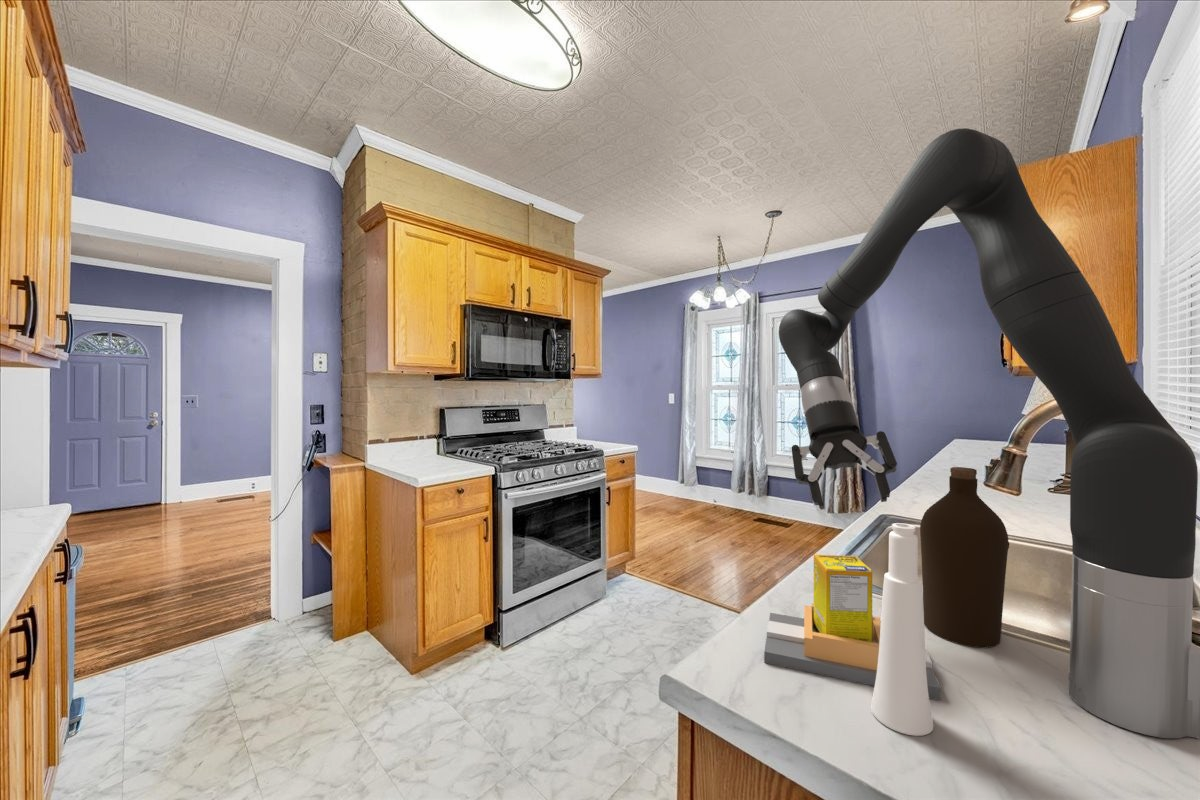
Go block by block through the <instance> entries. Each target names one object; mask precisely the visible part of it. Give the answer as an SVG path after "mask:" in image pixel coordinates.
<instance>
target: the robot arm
mask: <svg viewBox="0 0 1200 800" xmlns="http://www.w3.org/2000/svg"><path fill="white" fill-rule="evenodd" d="M1031 199H1032V198H1031V196H1030V194H1029V193H1028V190H1027V188H1026V186H1025V183H1024V180H1023V179H1022V176H1021V174H1020V171H1019V168H1018V167H1017V165H1016V161H1015V159H1014V156H1013V155H1012V153H1011V151H1010V150H1009V148H1008V147H1007V146H1006V144H1005V143H1004V142H1002V141H1001V140H999V139H998V138H996V137H993V136H991V135H989V134H986V133H983V132H982V131H978V130H976V129H972V128H963V127H962V128H956V129H952V130H949V131H946V132H945V133H942V134H941V135H939V136H938V137H936V138H935V139H933V140H932V141H931V142H930V143H929V144H928V145H927V146H926V147H925V148H924V149H923V151H922V152H921V153H920V155H919V156H918V157H917V159H916V160H915V161H914V162H913V164H912V166H911V167H910V169H909V170H908V172H907V173H906V174H905V176H904V178H903V179H902V180H901V183H900V184H899V186H898V187H897V189H896V190H895V191H894V193H893V195H892V196H891V198H890V199H889V200H888V202H887V204H886V206H885V207H884V208H883V210H882V211H881V212H880V214H879V216H878V217H877V218H876V220H875V222H874V223H873V224H872V225H871V227H870V229H869V230H868V232H867V233H866V234H865V236H864V237H863V238H862V240H861V241H860V242H859V244H858V245H857V246H856V247H855V249H854V250H852V252H851V254H850V255H849V256H847V258H846V259H845V261H843V263H842V264H841V265H840V266H839V267H838V268H837V269H836V271H835V272H834V273H833V274H832V275H831V276H830V277H829V279H828V280H827V281H826V282H825V283H824V284H823V286H821V288H820V289H819V291H818V293H817V300H818V302H819V304H820V306H821V307H822V308H823V309H824V310H825V312H824V313H822V314H819V313H815V312H811V311H808V310H805V309H801V308H798V309H793V310H790V311H788V312H787V313H785V314H784V316H782V318H781V320H780V323H779V326H778V338H779V343H780V345H781V347H782V349H783V351H784V353H785V355H786V357H787V358H788V360H789V362H790V365H791V366H792V367H793V368H794V370H795V372H796V375H797V376H796V377H797V380H798V381H797V382H798V384H799V389H800V393H801V394H800V395H801V403H802V404H801V405H802V410H803V414H804V418H805V422H806V426H807V430H808V437H809V440H810V441H809V445H806V446H799V445H797V444H793V445H792V446H791V455H792V461H793V462H792V463H793V470H794V477H795V479H796V482H797V484H799V485H807V486H809V490H810V494H811V499H812V502H813V504H814V506H818V507H819V509H820V510H821V509H825V504H824V501H823V496H822V492H821V487H820V483H819V482H820V480H821V478H822V476H824V474H825V473H826V472H827V469H832V470H839V469H841V468H854V467H855V466H856V465H858V466H860V467H861V468H862V469H863V470H866V471H868V472H869V473H871V474H872V475H873V476H874V483H875V486H876V489H877V491H878V492H877V493H878V496H879V499H880V502H881V503H885V502H888V498H890V496H891V490H890V486H889V482H888V478H887V475H888V474H890V473H891V474H892V473H895V472H896V471H897V465H898V461H897V460H896V458H895V457H896V456H895V455H894V453H893V450H892V447H891V445H890V443H889V440H888V437H887V435H886V433H885V432H884V431H882V430H880V431H878V432H876V434H873V435H870V436H869V435H868V436H865V435H864V434H863V433H862V432H861V431H862V430H861V428H860V425H859V421H858V418H857V415H856V414H857V413H856V411H855V407H854V402H853V401H852V397H851V394H850V391H849V388H848V387H847V385H846V382H845V378H844V375H843V372H842V371H843V370H842V368H841V364H840V362H839V360H838V358H837V357H836V355H834V353H832V352H830V351H831V350H832V349H833V348H834V347H836V345H837V344H838V343H839V341H840V340H841V338H842V337H843V336H844V333H845V332H846V329H847V328H848V326H849V324H850V323H851V321H852V319H853V317H854V315H855V313H856V312H857V311H858V310H859V309H860V308H861V307H863V305H865V303H866V302H867V301H868V300H869V299H870V298H871V297H872V296H873V295H874V294H875V293H876V292H877V291H878V290H879V289H880V288H881V286H882V285H883V284H884V283H885V281H886V280H887V279H888V278H889V276H890V275H891V273H892V271H893V269H894V268H895V265H896V264H897V262H898V260H899V258H900V256H901V254H902V253H903V251H904V249H905V247H906V246H907V245H908V243H909V241H911V239H912V238H913V236H914V235H915V234H916V233H917V232H918V231H919V230H920V229H921V228H922V226H923V225H925V223H927V221H929V220H930V219H932V217H933V216H935V215H936V214H937V213H938V212H939V211H940V210H942V209H943V208H944V207H947V208H949V210H950V211H952V213H953V214H954V215H955V216H956V218H957V219H958V221H959V222H960V223H961V225H962V226H963V227H964V229H965V231H966V233H968V235H969V237H970V239H971V240H972V242H973V244H974V247H975V250H976V254H977V257H978V259H977V260H978V267H979V276H980V280H981V281H980V282H981V287H982V290H983V295H984V299H985V301H986V303H987V305H988V307H989V309H990V311H991V313H992V314H993V316H994V318H995V321H996V322H997V324H998V326H999V328H1000V330H1001V331H1002V333H1003V335H1004V337H1006V339H1007V341H1008V342H1009V344H1010V345H1011V346H1012V348H1013V349H1014V351H1015V352H1016V353H1017V355H1018V356H1019V358H1020V359H1022V361H1023V362H1024V363H1025V365H1026V366H1028V368H1029V370H1031V372H1033V373H1034V374H1033V375H1035V376H1036V378H1037V379H1038V380H1039V381H1040V382H1041V384H1043V385H1044V386H1045V387H1046V388H1047V391H1048V392H1049V393H1050V394H1051V396H1052V397H1053V399H1054V400H1055V402H1056V404H1057V406H1058V408H1059V409H1060V412H1061V413H1062V415H1063V418H1064V420H1065V422H1066V424H1067V425H1066V426H1067V427H1068V429H1069V432H1070V433H1071V437H1072V439H1073V441H1074V445H1075V448H1074V449H1073V452H1072V456H1071V462H1070V477H1069V478H1070V479H1069V482H1070V483H1069V484H1070V485H1069V487H1070V488H1069V498H1070V499H1069V501H1070V504H1069V505H1070V508H1069V509H1070V510H1069V512H1070V513H1069V518H1070V519H1069V528H1070V533H1071V537H1072V538H1071V539H1072V541H1071V542H1072V547H1071V548H1072V553H1071V554H1072V555H1071V556H1072V558H1071V593H1070V594H1071V595H1070V596H1071V597H1070V599H1071V600H1070V627H1069V628H1070V631H1069V633H1070V634H1069V635H1070V638H1069V671H1068V692H1069V694H1068V695H1069V696H1070V697H1071V698H1072V701H1074V702H1075V703H1076V704H1077V705H1079V706H1080V707H1081V708H1083V709H1085V710H1086V711H1087V712H1089V713H1091V714H1092V715H1094V716H1096V717H1098V718H1100V719H1102V720H1104V721H1106V722H1108V723H1111V724H1112V725H1115V726H1118V727H1121V728H1124V729H1126V730H1128V731H1130V732H1135V733H1139V734H1141V735H1145V736H1150V737H1154V738H1155V737H1156V738H1160V739H1161V738H1163V739H1181V738H1184V737H1189V738H1190V737H1192V738H1194V739H1195V738H1197V739H1200V647H1199V646H1197V645H1196V644H1195V643H1193V642H1192V635H1193V634H1192V631H1193V629H1192V628H1193V627H1192V626H1193V599H1194V598H1193V597H1194V596H1193V595H1194V573H1195V571H1194V570H1195V557H1196V544H1197V543H1196V540H1197V539H1196V529H1197V528H1196V527H1197V512H1198V511H1197V507H1198V485H1199V481H1198V479H1199V478H1198V477H1199V474H1198V473H1199V472H1198V464H1197V459H1196V456H1195V453H1194V451H1193V449H1192V448H1191V446H1190V445H1189V444H1188V443H1187V442H1186V440H1185V439H1184V438H1183V437H1182V436H1181V435H1180V434H1179V433H1178V432H1177V431H1176V430H1175V429H1174V427H1173V426H1172V425H1171V424H1170V423H1169V422H1168V420H1167V419H1166V418H1165V417H1164V416H1163V415H1162V413H1161V412H1160V411H1159V409H1158V408H1157V407H1156V405H1155V404H1154V403H1153V402H1152V400H1151V399H1150V398H1149V397H1148V395H1147V394H1146V393H1145V391H1144V390H1143V388H1142V387H1141V386H1140V384H1139V383H1138V381H1137V380H1136V378H1135V377H1134V375H1133V373H1132V371H1131V370H1130V369H1131V368H1130V367H1129V365H1128V363H1127V361H1126V359H1125V356H1124V353H1123V351H1122V350H1123V349H1122V348H1121V346H1120V343H1119V341H1118V338H1117V336H1116V334H1115V330H1113V327H1112V325H1111V323H1110V321H1109V318H1108V317H1107V315H1106V312H1105V311H1104V309H1103V307H1102V304H1101V303H1100V301H1099V298H1098V297H1097V296H1096V294H1095V292H1094V290H1093V289H1092V288H1091V286H1090V284H1089V283H1088V281H1087V279H1086V277H1085V276H1084V274H1083V273H1082V271H1081V270H1080V269H1079V267H1078V265H1077V264H1076V263H1075V261H1074V260H1073V258H1072V257H1071V255H1070V254H1069V252H1068V251H1067V249H1066V248H1065V247H1064V245H1063V244H1062V243H1061V241H1060V240H1059V239H1058V237H1057V236H1056V235H1055V233H1054V232H1053V231H1052V229H1051V228H1050V227H1049V225H1047V223H1046V222H1045V221H1044V219H1043V218H1042V216H1041V215H1040V214H1039V213H1038V211H1037V208H1036V206H1035V205H1034V204H1033V201H1032V200H1031ZM868 445H871V446H872V448H873V449H875V450H879V452H880V456H881V458H882V460H883V462H884V463H883V464H880V463H879V462H877V461H876V460H875V459H873V457H872V456H871V455H870V454H868V453H867V452H866V449H867V446H868ZM809 454H810V455H811V456H813V457H814V458H815V459H816V460H815V462H814V464H813V467H812V469H811V471H810V472H809V474H806V473H804V466H803V465H804V464H803V461H805V460H806V459H807V457H808V455H809Z"/></svg>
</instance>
